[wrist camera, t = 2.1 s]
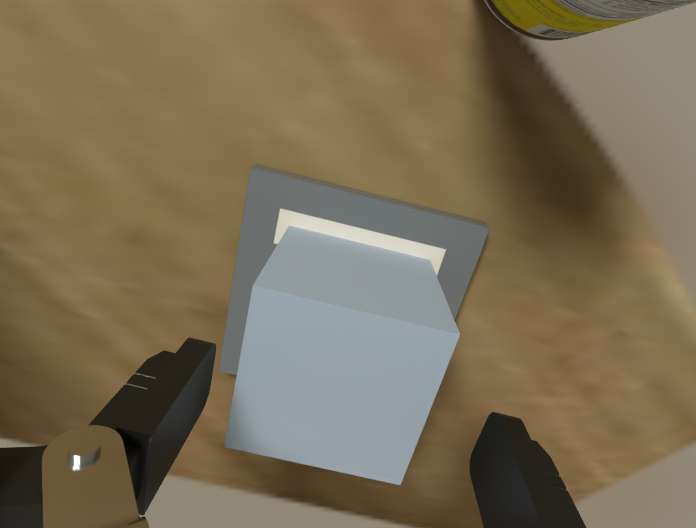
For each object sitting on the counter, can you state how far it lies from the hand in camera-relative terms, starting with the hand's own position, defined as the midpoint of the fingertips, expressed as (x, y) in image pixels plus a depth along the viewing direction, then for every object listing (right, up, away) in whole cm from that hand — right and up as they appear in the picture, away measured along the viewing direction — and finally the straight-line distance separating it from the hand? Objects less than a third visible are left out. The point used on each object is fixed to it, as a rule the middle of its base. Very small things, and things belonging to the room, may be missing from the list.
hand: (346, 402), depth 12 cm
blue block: (0, +2, +5) cm, 5 cm away
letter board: (0, +3, +6) cm, 6 cm away
